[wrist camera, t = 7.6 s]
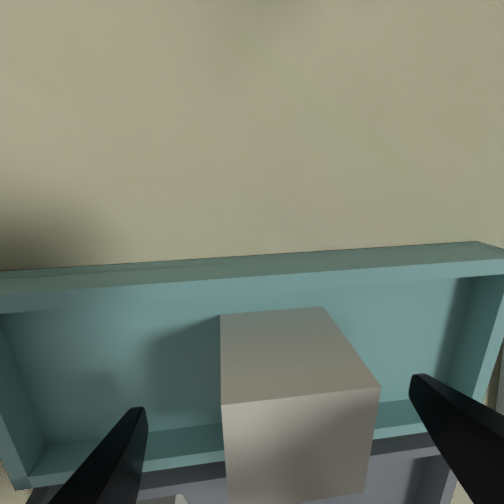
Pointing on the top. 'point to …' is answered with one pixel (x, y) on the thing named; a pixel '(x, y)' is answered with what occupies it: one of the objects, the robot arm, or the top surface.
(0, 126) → the top surface
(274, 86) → the top surface
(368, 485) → the tray
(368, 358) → the tray
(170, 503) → the cube
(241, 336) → the cube block
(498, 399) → the hard drive
